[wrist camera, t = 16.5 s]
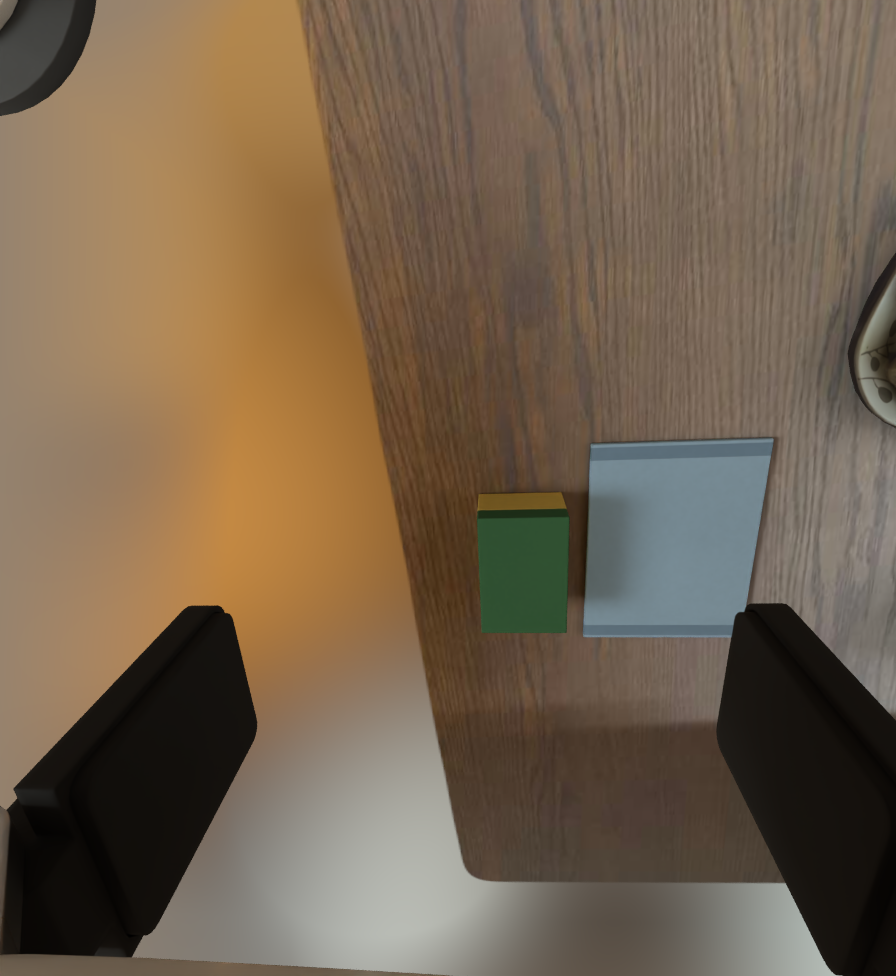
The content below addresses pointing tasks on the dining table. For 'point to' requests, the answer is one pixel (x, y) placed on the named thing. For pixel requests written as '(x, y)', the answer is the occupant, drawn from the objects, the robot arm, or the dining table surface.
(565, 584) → the scrubber
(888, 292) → the salad plate
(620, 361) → the dining table surface
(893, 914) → the robot arm
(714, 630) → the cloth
